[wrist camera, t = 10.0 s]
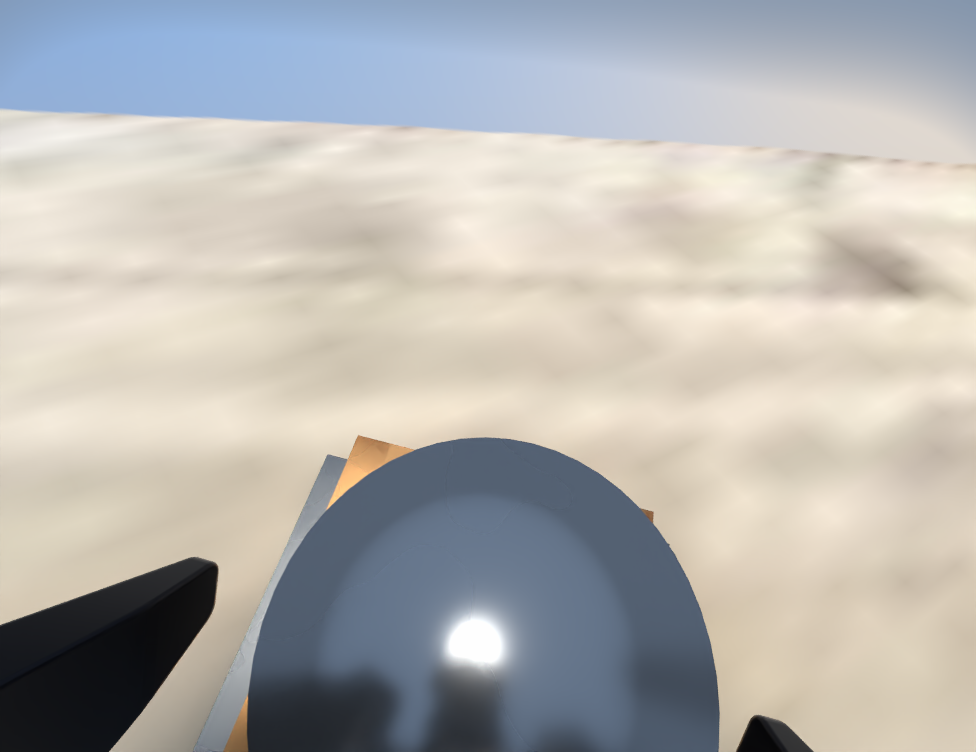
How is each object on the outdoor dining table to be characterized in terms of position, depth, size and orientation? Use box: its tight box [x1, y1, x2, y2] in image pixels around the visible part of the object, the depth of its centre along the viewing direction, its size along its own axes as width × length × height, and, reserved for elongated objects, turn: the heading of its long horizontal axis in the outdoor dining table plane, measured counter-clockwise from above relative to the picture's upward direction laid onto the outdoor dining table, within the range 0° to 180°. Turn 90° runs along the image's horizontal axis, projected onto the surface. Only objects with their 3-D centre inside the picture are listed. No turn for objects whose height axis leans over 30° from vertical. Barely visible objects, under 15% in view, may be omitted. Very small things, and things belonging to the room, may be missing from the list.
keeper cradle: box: [193, 435, 669, 752], centre depth 14 cm, size 13×14×4 cm
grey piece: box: [247, 438, 720, 752], centre depth 10 cm, size 5×5×13 cm
